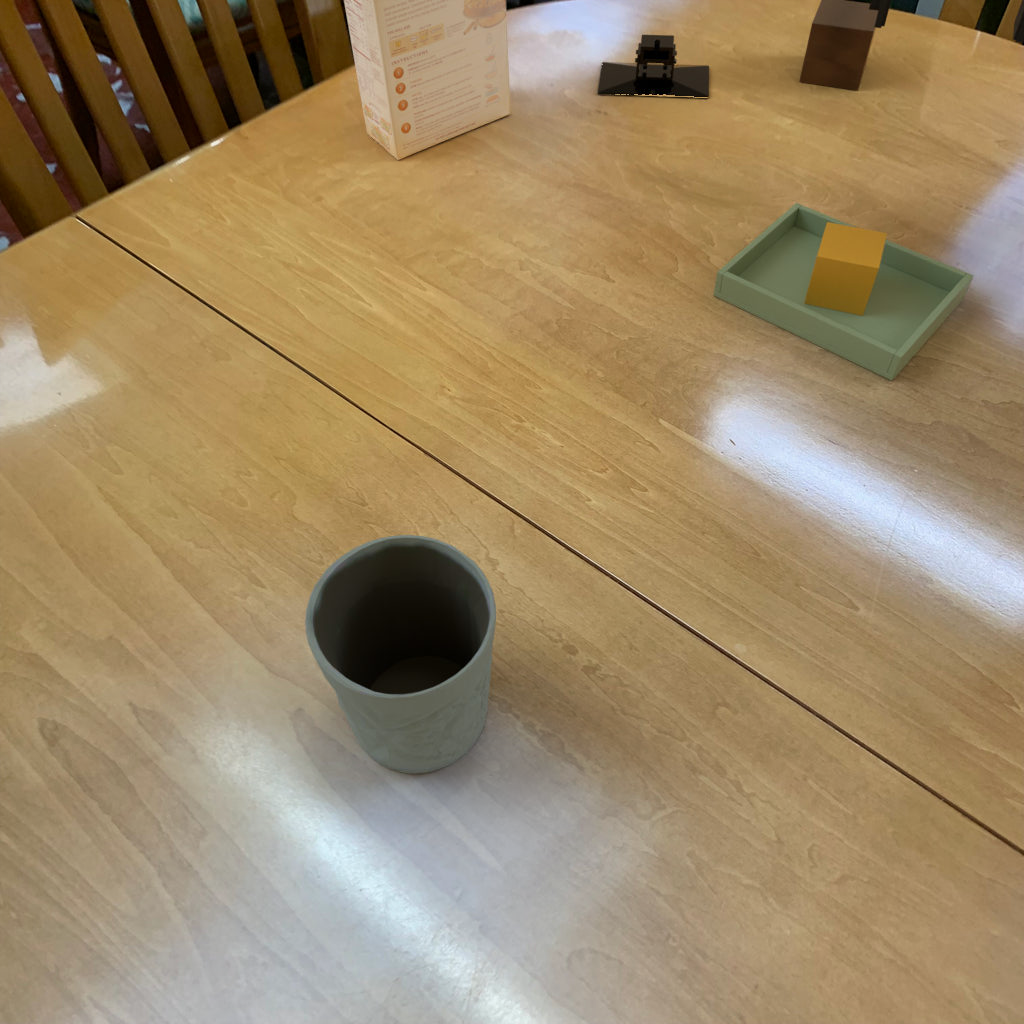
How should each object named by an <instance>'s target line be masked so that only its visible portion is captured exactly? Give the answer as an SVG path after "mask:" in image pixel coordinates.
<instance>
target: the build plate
mask: <svg viewBox="0 0 1024 1024" xmlns="http://www.w3.org/2000/svg"><path fill="white" fill-rule="evenodd" d="M676 45H677V44H676V43H675V35H670V34H669V35H668V34H641V38H640V42H638V46H637V49H636V50H635V55H637V56H636V57H635V58H634V62H620V61H619V62H616V61H615V62H614V61H603V62H601V66H600V73H599V80H598V86H597V95H598V94H611V95H610V96H614V95H615V94H620V95H621V94H626V95H627V94H629V95H634V94H638V95H642V94H645V95H649V94H652V95H657V94H659V95H663V94H666V95H675V96H694V97H708V96H709V97H710V65H708V64H706V65H705V64H680V65H679V64H677V62H678V60H677V58H676V56H678V51H677V50H676V47H677V46H676ZM602 64H603V65H602ZM675 64H677V65H675ZM601 67H602V68H601Z"/></svg>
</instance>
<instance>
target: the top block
mask: <svg viewBox="0 0 1024 1024" xmlns="http://www.w3.org/2000/svg"><path fill="white" fill-rule="evenodd" d="M887 235H888V233H887V232H883V231H877V230H871V229H866V228H861V227H857V228H856V226H855V227H851V226H845V225H840V224H835V223H829V222H827V224H826V227H825V231H824V234H823V237H822V241H821V244H820V247H819V251H818V254H817V258H816V261H815V265H814V269H813V272H812V276H811V280H810V283H809V287H808V291H807V294H806V298H805V302H804V304H808V305H813V306H818V307H823V308H827V309H832V310H837V311H842V312H847V313H851V314H856V315H861V316H863V314H864V311H865V308H866V305H867V302H868V299H869V296H870V294H871V291H872V288H873V285H874V282H875V279H876V276H877V273H878V270H879V267H880V262H881V258H882V254H883V249H884V245H885V241H886V240H887Z"/></svg>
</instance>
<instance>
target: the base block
mask: <svg viewBox="0 0 1024 1024" xmlns="http://www.w3.org/2000/svg"><path fill="white" fill-rule="evenodd" d="M869 6H870V3H869V2H861V1H853V0H820V2H819V5H818V8H817V10H816V12H815V15H814V17H813V20H812V22H811V26H810V30H809V35H808V40H807V45H806V49H805V53H804V58H803V63H802V68H801V72H800V77H799V83H804V84H811V85H816V86H817V85H818V86H824V87H832V88H838V89H845V90H850V91H859V89H860V85H861V83H862V79H863V75H864V73H865V69H866V66H867V64H868V60H869V55H870V52H871V49H872V45H873V40H874V37H875V34H876V30H877V28H874V26H875V22H876V18H877V14H878V10H869Z"/></svg>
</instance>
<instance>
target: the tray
mask: <svg viewBox="0 0 1024 1024" xmlns="http://www.w3.org/2000/svg"><path fill="white" fill-rule="evenodd" d="M827 222H829V223H835V224H840V225H845V226H851V227H856V225H855V226H854V225H852V224H849V223H847V222H844V221H842V220H839V219H838V218H835V217H833V216H831V215H828V214H825V213H822V212H820V211H817V210H815V209H813V208H812V207H811V208H810V207H809V206H806V205H803V204H801V203H798V202H795V203H794V204H793V205H792V206H791V207H789V209H787V210H786V211H785V212H784V213H783V214H782V215H781V216H779V218H777V219H776V220H775V221H773V223H771V224H770V225H769V226H768V227H767V228H765V229H764V230H763V231H762V232H761V233H760V234H759V235H757V236H756V237H755V238H754V239H753V240H751V242H750V243H749V244H748V245H746V246H745V247H744V248H742V250H741V251H740V252H738V253H737V254H736V255H734V257H733V258H731V259H730V260H729V261H728V262H726V263H725V265H723V266H722V267H721V268H720V269H719V270H718V271H717V272H716V273H717V274H716V276H715V277H716V278H715V284H714V290H713V296H714V297H716V298H718V299H720V300H721V301H725V302H726V303H729V304H731V305H733V306H734V307H737V308H739V309H741V310H743V311H745V312H747V313H749V314H751V315H753V316H756V317H758V318H760V319H762V320H764V321H766V322H768V323H769V324H772V325H774V326H776V327H778V328H781V329H783V330H784V331H787V332H789V333H791V334H793V335H795V336H797V337H799V338H802V339H803V340H805V341H807V342H809V343H812V344H814V345H816V346H819V347H821V348H823V349H825V350H827V351H828V352H831V353H833V354H835V355H837V356H839V357H841V358H843V359H845V360H848V361H849V362H851V363H853V364H856V365H857V366H860V367H862V368H864V369H866V370H868V371H870V372H872V373H874V374H876V375H879V376H881V377H883V378H885V379H886V380H889V381H893V380H895V378H896V377H897V376H898V375H899V373H900V372H901V371H903V369H904V368H905V367H906V366H907V364H908V363H909V362H910V361H911V360H912V358H914V356H915V355H917V353H918V352H919V351H920V350H921V348H922V347H923V346H924V345H925V344H926V343H927V341H928V340H929V339H930V338H931V337H932V336H933V335H934V333H935V332H936V331H937V330H938V329H939V328H940V327H941V325H942V324H944V322H945V321H946V320H947V319H948V317H950V315H951V314H952V313H953V312H954V311H955V310H956V308H957V307H958V306H959V305H960V304H961V303H962V301H963V300H964V299H965V297H966V294H967V292H968V290H969V288H970V285H971V283H972V281H973V279H974V276H975V275H974V274H973V273H972V274H971V273H969V272H967V271H965V270H961V269H959V268H957V267H954V266H953V265H949V264H947V263H945V262H942V261H940V260H937V259H935V258H932V257H930V256H927V255H925V254H923V253H920V252H917V251H915V250H913V249H910V248H908V247H906V246H903V245H901V244H898V243H896V242H894V241H891V240H888V239H886V241H885V245H884V249H883V254H882V258H881V262H880V267H879V270H878V273H877V276H876V279H875V282H874V285H873V288H872V291H871V294H870V296H869V299H868V302H867V305H866V308H865V311H864V314H863V316H861V315H856V314H851V313H847V312H842V311H837V310H832V309H827V308H823V307H818V306H813V305H808V304H804V302H805V298H806V294H807V291H808V287H809V283H810V280H811V276H812V272H813V269H814V265H815V261H816V258H817V254H818V251H819V247H820V244H821V241H822V237H823V234H824V231H825V227H826V224H827ZM856 228H858V226H857V227H856Z"/></svg>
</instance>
